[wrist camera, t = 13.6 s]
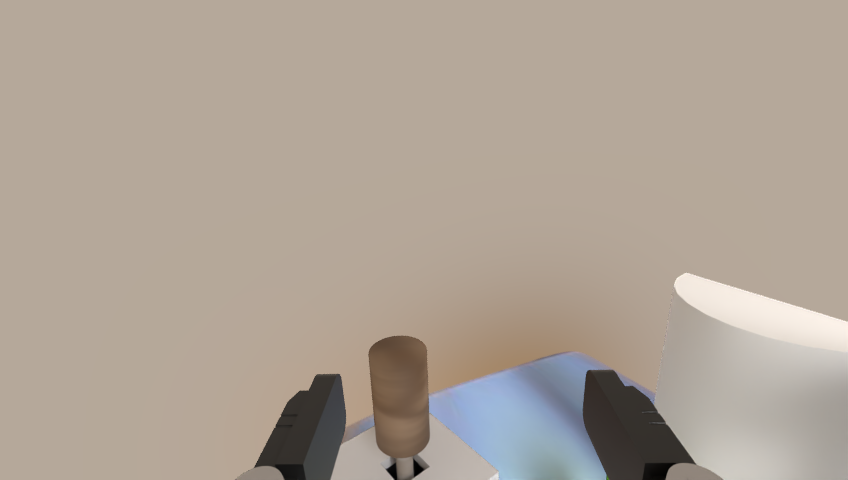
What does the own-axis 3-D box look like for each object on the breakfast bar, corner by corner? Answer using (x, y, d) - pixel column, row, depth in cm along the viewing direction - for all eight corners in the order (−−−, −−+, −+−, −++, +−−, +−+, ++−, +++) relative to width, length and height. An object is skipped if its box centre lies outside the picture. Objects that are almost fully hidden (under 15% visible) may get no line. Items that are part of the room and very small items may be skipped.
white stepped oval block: (781, 651, 35) (879, 381, 27) (609, 496, 50) (637, 290, 41) (856, 548, 43) (950, 314, 35) (689, 440, 58) (726, 257, 49)
